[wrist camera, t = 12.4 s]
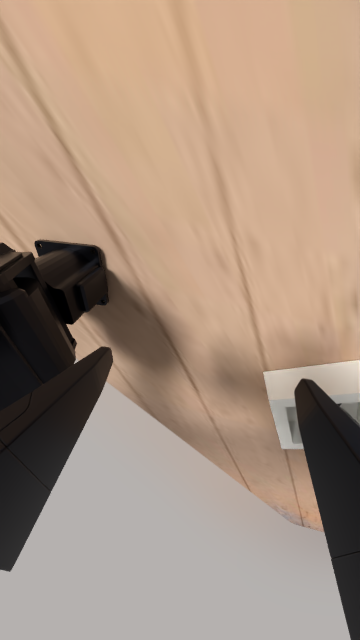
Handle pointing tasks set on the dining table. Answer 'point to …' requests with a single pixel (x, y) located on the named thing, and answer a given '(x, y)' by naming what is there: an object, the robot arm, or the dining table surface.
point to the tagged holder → (334, 379)
